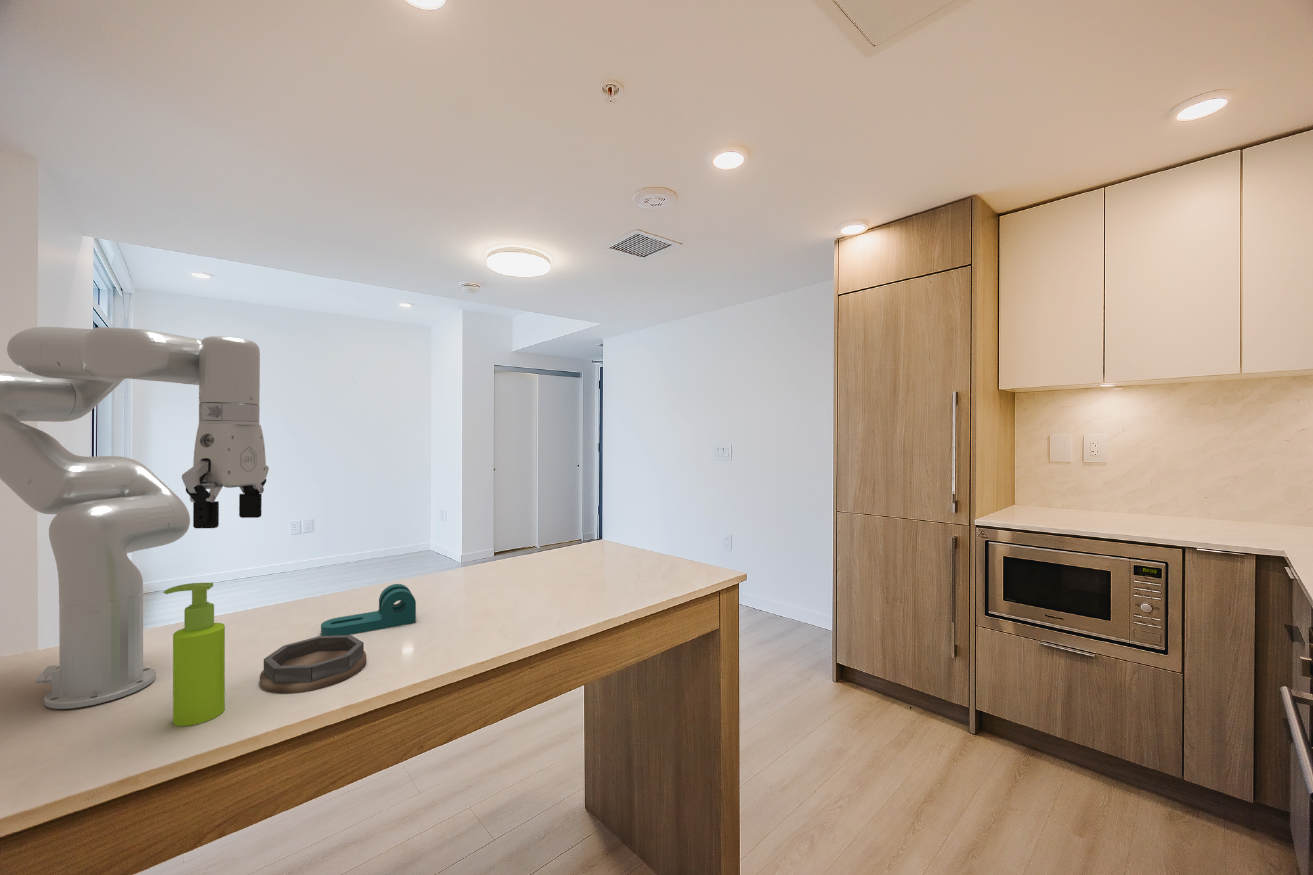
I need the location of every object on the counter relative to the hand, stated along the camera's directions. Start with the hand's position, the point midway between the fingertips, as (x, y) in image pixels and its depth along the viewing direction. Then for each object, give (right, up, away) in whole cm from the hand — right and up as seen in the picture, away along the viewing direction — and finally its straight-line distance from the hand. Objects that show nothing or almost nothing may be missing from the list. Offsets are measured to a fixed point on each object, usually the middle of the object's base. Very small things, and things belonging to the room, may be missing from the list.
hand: (229, 522), depth 83 cm
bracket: (+5, -29, +32) cm, 43 cm away
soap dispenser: (-1, -29, -5) cm, 29 cm away
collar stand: (+7, -29, +10) cm, 31 cm away
